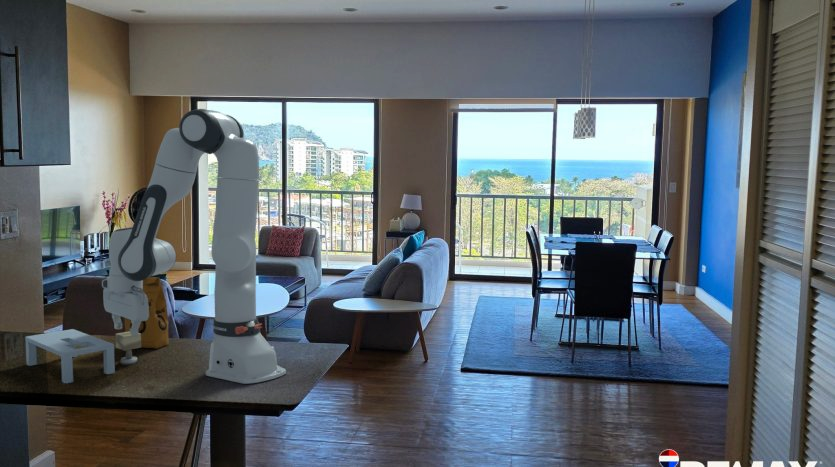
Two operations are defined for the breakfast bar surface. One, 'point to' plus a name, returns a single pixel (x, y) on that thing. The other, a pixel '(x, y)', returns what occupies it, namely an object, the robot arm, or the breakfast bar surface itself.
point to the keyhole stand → (69, 349)
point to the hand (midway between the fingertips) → (126, 331)
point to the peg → (128, 346)
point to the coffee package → (153, 316)
